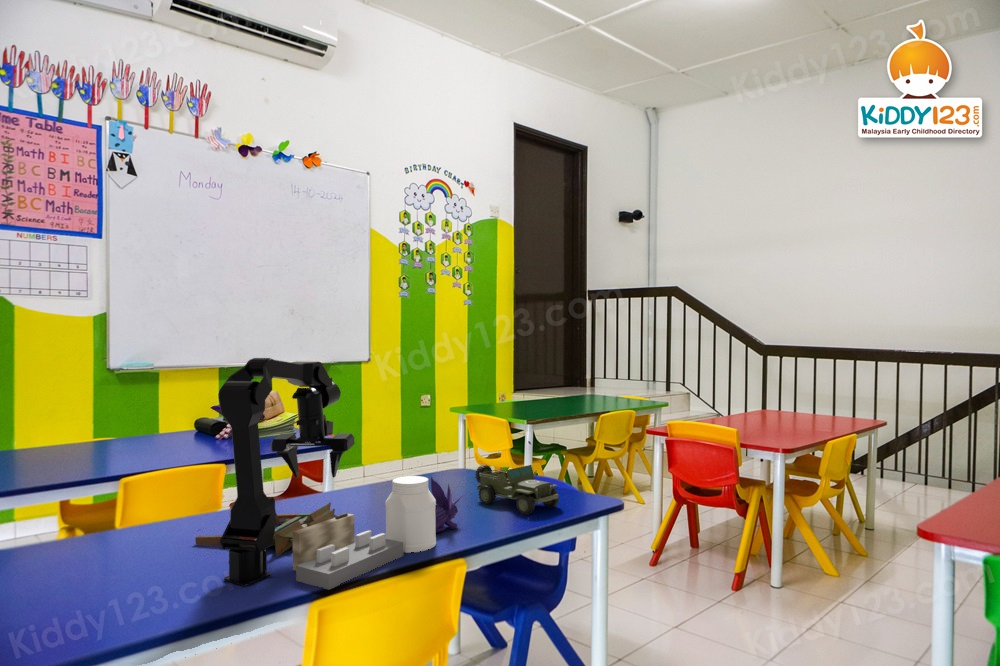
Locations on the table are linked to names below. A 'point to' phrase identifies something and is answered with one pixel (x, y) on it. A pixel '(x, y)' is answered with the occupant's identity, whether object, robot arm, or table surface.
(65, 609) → the table surface
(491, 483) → the toy jeep
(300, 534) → the birch door
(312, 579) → the hinge plinth
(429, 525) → the jar
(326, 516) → the miniature gate
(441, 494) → the creature
